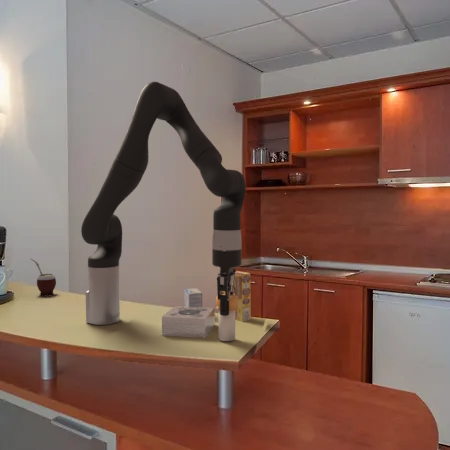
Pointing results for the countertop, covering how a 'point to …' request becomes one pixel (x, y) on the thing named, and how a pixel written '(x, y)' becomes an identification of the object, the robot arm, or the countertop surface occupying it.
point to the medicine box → (192, 298)
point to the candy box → (242, 296)
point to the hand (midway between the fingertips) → (226, 311)
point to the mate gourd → (45, 282)
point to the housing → (188, 321)
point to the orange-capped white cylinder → (227, 320)
